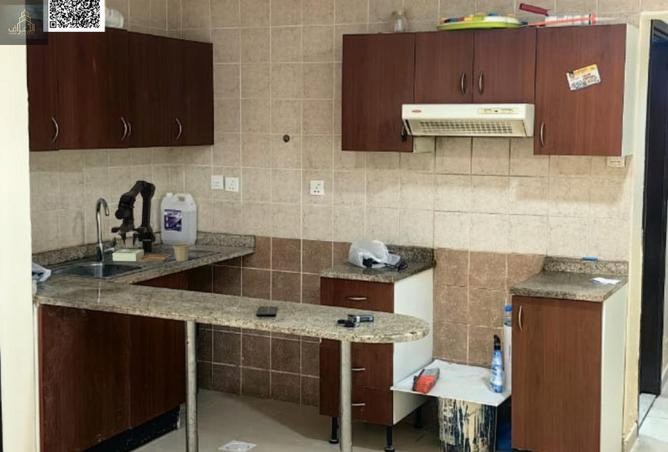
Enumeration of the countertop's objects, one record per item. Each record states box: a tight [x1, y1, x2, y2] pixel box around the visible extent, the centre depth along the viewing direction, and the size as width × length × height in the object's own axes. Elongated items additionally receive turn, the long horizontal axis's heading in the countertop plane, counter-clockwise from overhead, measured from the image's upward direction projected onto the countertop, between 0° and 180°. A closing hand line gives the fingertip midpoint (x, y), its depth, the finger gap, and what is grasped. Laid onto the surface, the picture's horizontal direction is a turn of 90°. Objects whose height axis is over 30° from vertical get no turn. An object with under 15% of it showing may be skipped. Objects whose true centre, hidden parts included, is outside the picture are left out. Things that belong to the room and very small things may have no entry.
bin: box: [112, 248, 145, 262], centre depth 540 cm, size 13×13×5 cm
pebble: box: [124, 238, 134, 248], centre depth 541 cm, size 4×4×4 cm
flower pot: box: [172, 243, 191, 262], centre depth 534 cm, size 9×9×9 cm
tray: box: [136, 253, 173, 263], centre depth 539 cm, size 17×14×2 cm
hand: (129, 245), depth 542 cm, fingers closed on pebble, 4 cm apart
